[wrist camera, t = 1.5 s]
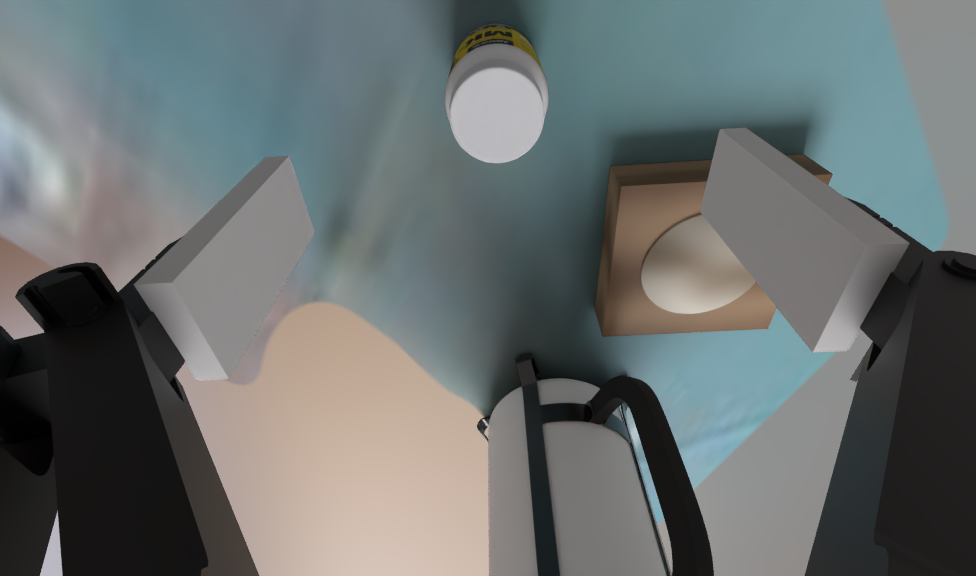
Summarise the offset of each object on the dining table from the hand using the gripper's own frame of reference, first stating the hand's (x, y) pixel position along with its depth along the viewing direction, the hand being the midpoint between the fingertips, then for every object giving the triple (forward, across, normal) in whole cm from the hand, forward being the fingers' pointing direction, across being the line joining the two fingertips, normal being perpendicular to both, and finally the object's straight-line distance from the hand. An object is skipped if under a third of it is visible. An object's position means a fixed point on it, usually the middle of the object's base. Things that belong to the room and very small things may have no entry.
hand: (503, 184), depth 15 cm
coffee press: (+15, +4, -28) cm, 32 cm away
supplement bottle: (+14, 0, 0) cm, 14 cm away
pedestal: (+14, +13, -12) cm, 23 cm away
